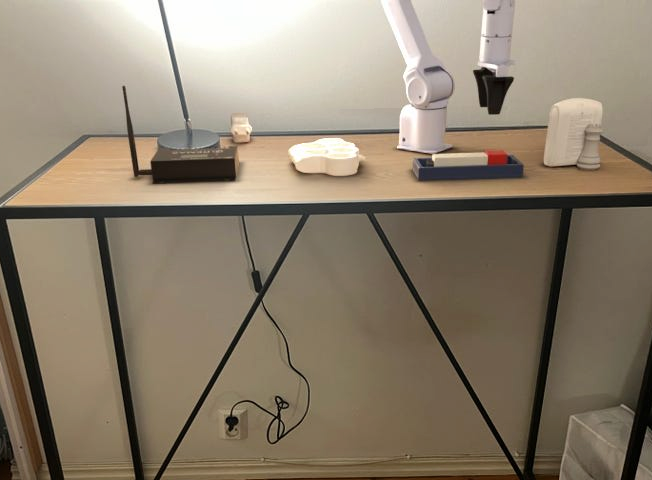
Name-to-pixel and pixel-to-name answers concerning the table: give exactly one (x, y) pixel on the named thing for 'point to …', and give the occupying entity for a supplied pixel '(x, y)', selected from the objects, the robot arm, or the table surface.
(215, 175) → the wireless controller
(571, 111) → the photo printer
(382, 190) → the table surface
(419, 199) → the table surface
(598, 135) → the rook chess piece
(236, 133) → the power adapter
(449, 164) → the marker
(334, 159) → the white lobed tray
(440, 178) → the tray
